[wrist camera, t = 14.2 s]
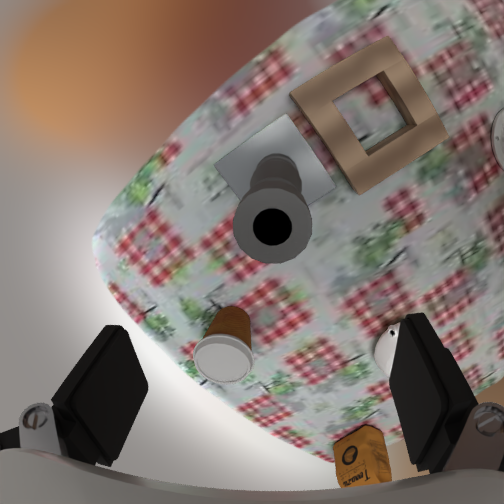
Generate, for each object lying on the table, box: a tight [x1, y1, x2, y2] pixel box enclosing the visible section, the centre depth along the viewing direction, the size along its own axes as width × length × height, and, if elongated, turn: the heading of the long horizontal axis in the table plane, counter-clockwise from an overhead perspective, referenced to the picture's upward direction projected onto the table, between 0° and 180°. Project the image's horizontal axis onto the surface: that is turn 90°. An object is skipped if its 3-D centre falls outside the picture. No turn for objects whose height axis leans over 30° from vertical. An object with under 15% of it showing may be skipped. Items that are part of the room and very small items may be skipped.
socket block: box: [289, 36, 449, 195], centre depth 40 cm, size 17×17×4 cm
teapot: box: [374, 322, 400, 378], centre depth 51 cm, size 20×12×10 cm, turn 39°
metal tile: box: [214, 114, 336, 206], centre depth 46 cm, size 13×13×1 cm
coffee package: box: [333, 426, 392, 488], centre depth 59 cm, size 10×12×22 cm
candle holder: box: [233, 153, 312, 263], centre depth 34 cm, size 6×6×25 cm
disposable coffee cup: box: [193, 306, 254, 384], centre depth 52 cm, size 10×10×12 cm
